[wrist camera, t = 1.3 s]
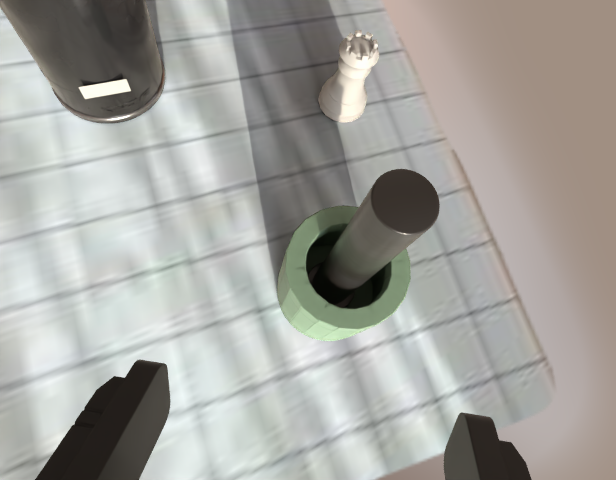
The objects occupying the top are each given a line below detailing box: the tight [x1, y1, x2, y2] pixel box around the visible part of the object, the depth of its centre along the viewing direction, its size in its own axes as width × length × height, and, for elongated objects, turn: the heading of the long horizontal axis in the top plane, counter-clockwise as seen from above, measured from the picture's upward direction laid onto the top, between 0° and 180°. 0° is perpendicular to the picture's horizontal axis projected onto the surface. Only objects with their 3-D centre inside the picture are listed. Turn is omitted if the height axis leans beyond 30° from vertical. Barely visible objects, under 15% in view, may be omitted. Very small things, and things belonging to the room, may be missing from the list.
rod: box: [308, 169, 439, 308], centre depth 27 cm, size 4×4×18 cm
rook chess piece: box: [318, 30, 379, 122], centre depth 38 cm, size 4×4×8 cm
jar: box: [277, 206, 411, 341], centre depth 32 cm, size 8×8×8 cm
